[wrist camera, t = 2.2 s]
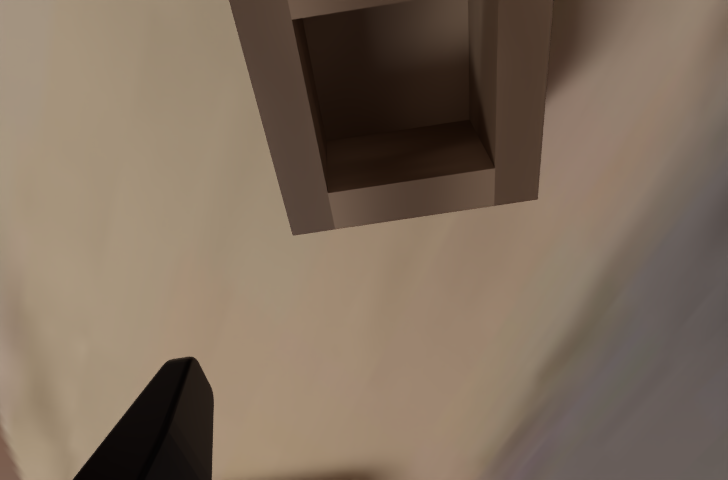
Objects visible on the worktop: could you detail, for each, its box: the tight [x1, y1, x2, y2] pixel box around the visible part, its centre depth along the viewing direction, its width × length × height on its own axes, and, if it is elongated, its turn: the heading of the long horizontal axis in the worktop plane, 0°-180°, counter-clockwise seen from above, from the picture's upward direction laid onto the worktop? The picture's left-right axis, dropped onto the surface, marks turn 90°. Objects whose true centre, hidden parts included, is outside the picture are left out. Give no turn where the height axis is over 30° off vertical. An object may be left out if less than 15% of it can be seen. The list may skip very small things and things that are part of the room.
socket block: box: [229, 0, 553, 235], centre depth 16 cm, size 8×8×4 cm
